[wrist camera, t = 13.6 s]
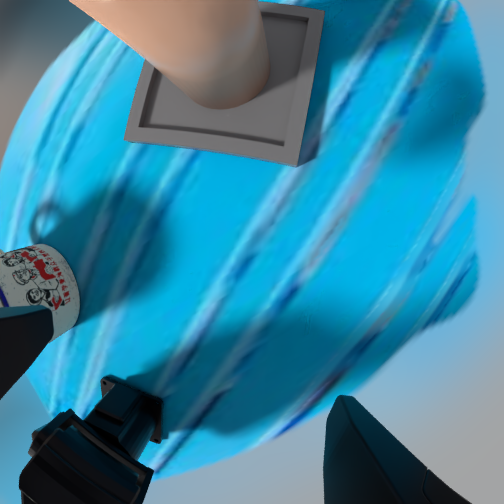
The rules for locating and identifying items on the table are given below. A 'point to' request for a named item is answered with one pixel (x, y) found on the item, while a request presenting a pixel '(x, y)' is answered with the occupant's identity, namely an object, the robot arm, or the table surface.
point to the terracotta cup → (194, 44)
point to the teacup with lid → (40, 284)
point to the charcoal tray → (244, 116)
